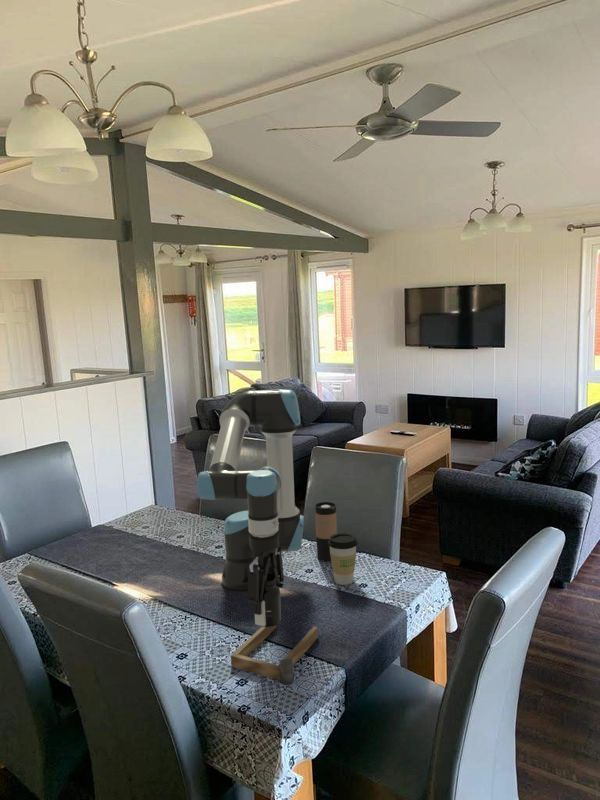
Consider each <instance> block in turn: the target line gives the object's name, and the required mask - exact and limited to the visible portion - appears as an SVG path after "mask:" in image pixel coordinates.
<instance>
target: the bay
mask: <svg viewBox="0 0 600 800" xmlns="http://www.w3.org/2000/svg"><path fill="white" fill-rule="evenodd" d="M276 629H277V625H276V626H273V627H261V626H260V628H258V629H257V631H255V633H253V634H252V635H251V636H250V637H249V638H248V639H247V640H246V641H244V642H243V644H242V645H240V647H238V648H237V649H235V651H234V652H233V653H231V655H230V664H231V665H230V667H233V668H236V669H239V670H243V671H246V672H250V673H254V674H256V675H259V676H263V677H267V678H270V679H272V680H273V679H274V680H277V681H280V682H281V684H283V685H291V684H292V683H294V668H293V667H294V666H295V665H296V663H297V662H299V660H300V659H301V658H302V657H303V656H304V654H305V653H306V652H307V651H308V650H309V649H310V647H311V646H312V645H313V644H314V643H315V642H316V641H317V639H318V638H319V629H318V626H312V628H311V629H310V630H309V631H308V632H307V633H306V634H305V635H304V636H303V637H302V638H301V640H300V641H299V642H298V643H297V644H296V645H295V646H294V648H292V650H291V651H290V652H289V653H288V654H287V655H286V656H285V657H284V658H282V659H281V660H280V662H279V664H276V663H275V664H274V663H271V662H267V661H264V660H261V659H256V658H253V657H249V655H250V654H251V653H252V652H253V651H254V650H255V649H256V648H257V647H259V645H260V644H262V642H263V641H265V639H266V638H268V636H269V635H271V633H272V632H274V631H275V630H276Z"/></svg>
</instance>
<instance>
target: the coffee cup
mask: <svg viewBox="0 0 600 800" xmlns="http://www.w3.org/2000/svg"><path fill="white" fill-rule="evenodd" d="M358 544H359V543H358V540H357V538H356V536H355V535H354V534H352V533H347V532H346V533H345V532H340V533H338V532H337V534H334V535H332V536H331V537H330V540H329V541H328V545H329V546H330V556H331V561H330V562H331V568H332V572H333V579H334V583H336V584H337V585H341V586H347V585H351V584H353V582H354V576H355V574H354V573H355V571H356V570H355V566H356V559H357V558H356V557H357V546H358Z"/></svg>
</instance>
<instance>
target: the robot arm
mask: <svg viewBox="0 0 600 800" xmlns="http://www.w3.org/2000/svg"><path fill="white" fill-rule="evenodd" d="M218 421H219V426H220V429H219V433H218V434H217V435H218V436H217V440H216V443H215V447H214V451H213V454H212V458H211V462H210V465H209V470H205V471H200V472H199V473H198V475H197V478H196V479H197V480H196V491H197V495H198V497H199V498H200V500H212V501H215V500H216V501H217V500H218V501H219V500H240V499H241V500H244V499H245V500H246V499H247V510H242V511H238V512H235V513H233V514H231V515H229V516H228V517H226V518H225V521H224V523H223V524H224V525H223V526H224V527H223V529H224V530H223V534H224V547H225V549H224V550H225V564H224V567H223V571H222V573H221V574H222V575H221V583H222V585H223V586H224V587H225V588H226V589H228V590H229V589H230V590H233V591H247V603H252V604H253V613H255V615H254V623H255V624H254V625H255V626H256V625H257V626H259V625H260V626H259V627H261V626H265V625H266V618H265V601H263V593H264V585H265V577H266V574H273V575H275V576H276V585H277V586H278V587H279V588H281V589H282V588H284V583H283V582H284V581H285V577H284V567H283V557H282V554H283V553H285V552H286V553H288V552H297V551H299V550H301V548H302V542H303V532H304V526H305V525H304V523H305V520H304V519H305V516H304V515H302V514H300V509H299V508H298V507H297V506H296V503H295V482H294V481H295V480H294V454H293V451H294V450H293V435H294V434H295V432H297V426H300V425H301V413H300V406H299V401H298V396H297V394H296V392H295V391H294V390H292V389H263V390H246V391H243V392H240V393H238V394H237V395H236V396H234V397H233V398H231V399H230V400H229V401H228V402H227V404H226V405H224V406H223V409H222V411H221V412H220V416H219V419H218ZM249 427H260V432H261V434H263V435H264V436H265V448H266V449H265V450H266V466H263V467H261V468H259V469H253V470H238V465H239V461H240V457H241V451H242V446H243V441H244V437H245V433H246V431H247V430H249Z"/></svg>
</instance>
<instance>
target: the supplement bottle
mask: <svg viewBox="0 0 600 800" xmlns="http://www.w3.org/2000/svg"><path fill="white" fill-rule="evenodd" d="M280 588H281V587H278V586H277V585H276V576H275V575H273V574H266V577H265V585H264V593H263V601H265V618H266V625H265V626H260V625H258V627H260V628H261V627H273V626H276V627H277V625H279V624H280V623H281V620H282V617H281V616H282V611H281V607H282V606H281V604H282V603H281V589H280ZM253 613H254V612H253ZM253 615H254V616H255V613H254V614H253Z"/></svg>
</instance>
